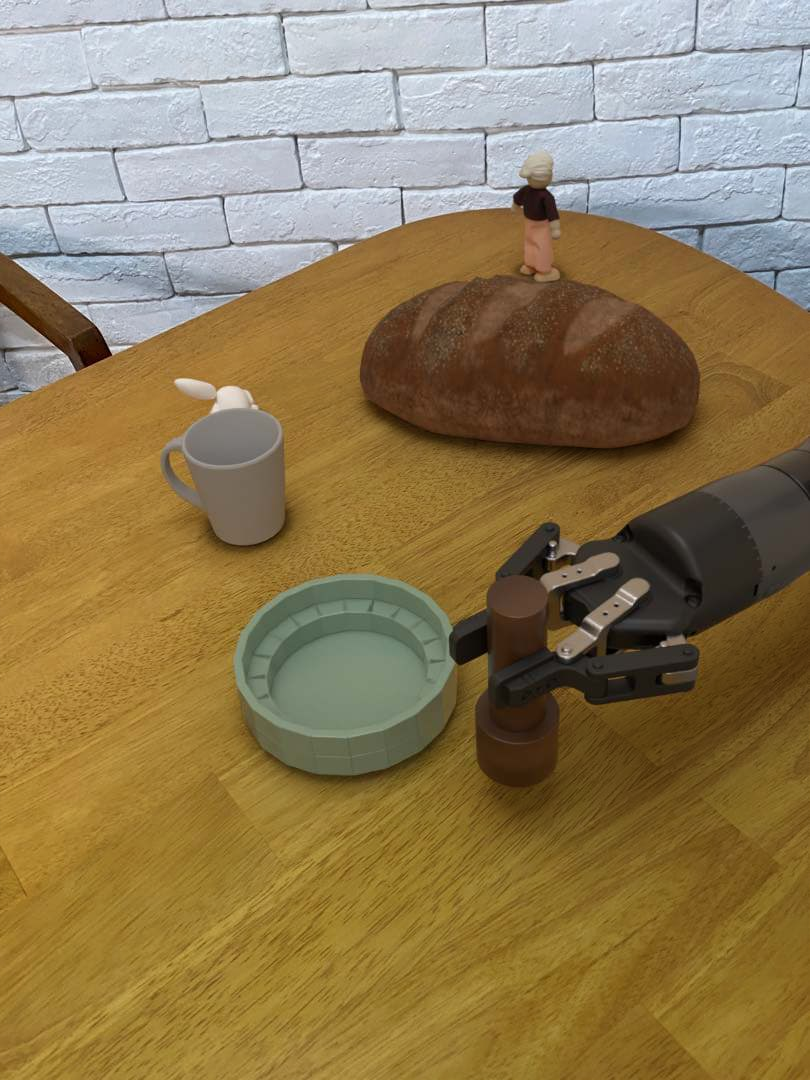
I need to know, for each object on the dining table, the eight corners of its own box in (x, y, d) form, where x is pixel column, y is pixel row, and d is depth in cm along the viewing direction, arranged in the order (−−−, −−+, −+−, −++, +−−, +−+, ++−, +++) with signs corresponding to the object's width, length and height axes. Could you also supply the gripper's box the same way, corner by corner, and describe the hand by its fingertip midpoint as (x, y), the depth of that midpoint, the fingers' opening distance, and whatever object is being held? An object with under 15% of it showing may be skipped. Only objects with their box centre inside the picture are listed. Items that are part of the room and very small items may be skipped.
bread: (688, 476, 90) (704, 354, 83) (340, 438, 97) (325, 322, 90) (701, 371, 101) (717, 255, 94) (388, 343, 108) (379, 233, 101)
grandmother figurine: (577, 276, 116) (582, 155, 108) (552, 290, 114) (555, 168, 106) (521, 253, 120) (522, 136, 112) (497, 266, 119) (496, 148, 110)
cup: (281, 560, 86) (265, 471, 80) (158, 548, 88) (134, 460, 82) (308, 497, 91) (295, 410, 86) (192, 487, 93) (172, 401, 88)
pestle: (574, 764, 66) (583, 604, 57) (506, 801, 64) (505, 642, 56) (526, 711, 69) (528, 552, 61) (460, 746, 67) (453, 587, 59)
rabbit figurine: (280, 428, 99) (207, 431, 93) (255, 451, 101) (183, 455, 95) (254, 370, 100) (181, 370, 94) (231, 394, 103) (158, 395, 97)
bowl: (499, 718, 73) (499, 672, 70) (304, 820, 68) (295, 774, 65) (389, 592, 82) (385, 546, 79) (211, 674, 77) (199, 628, 74)
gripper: (645, 438, 68) (399, 546, 62) (822, 568, 59) (553, 710, 53) (636, 533, 73) (407, 642, 67) (798, 667, 64) (549, 807, 57)
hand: (473, 671), depth 60 cm, fingers closed on pestle, 3 cm apart
